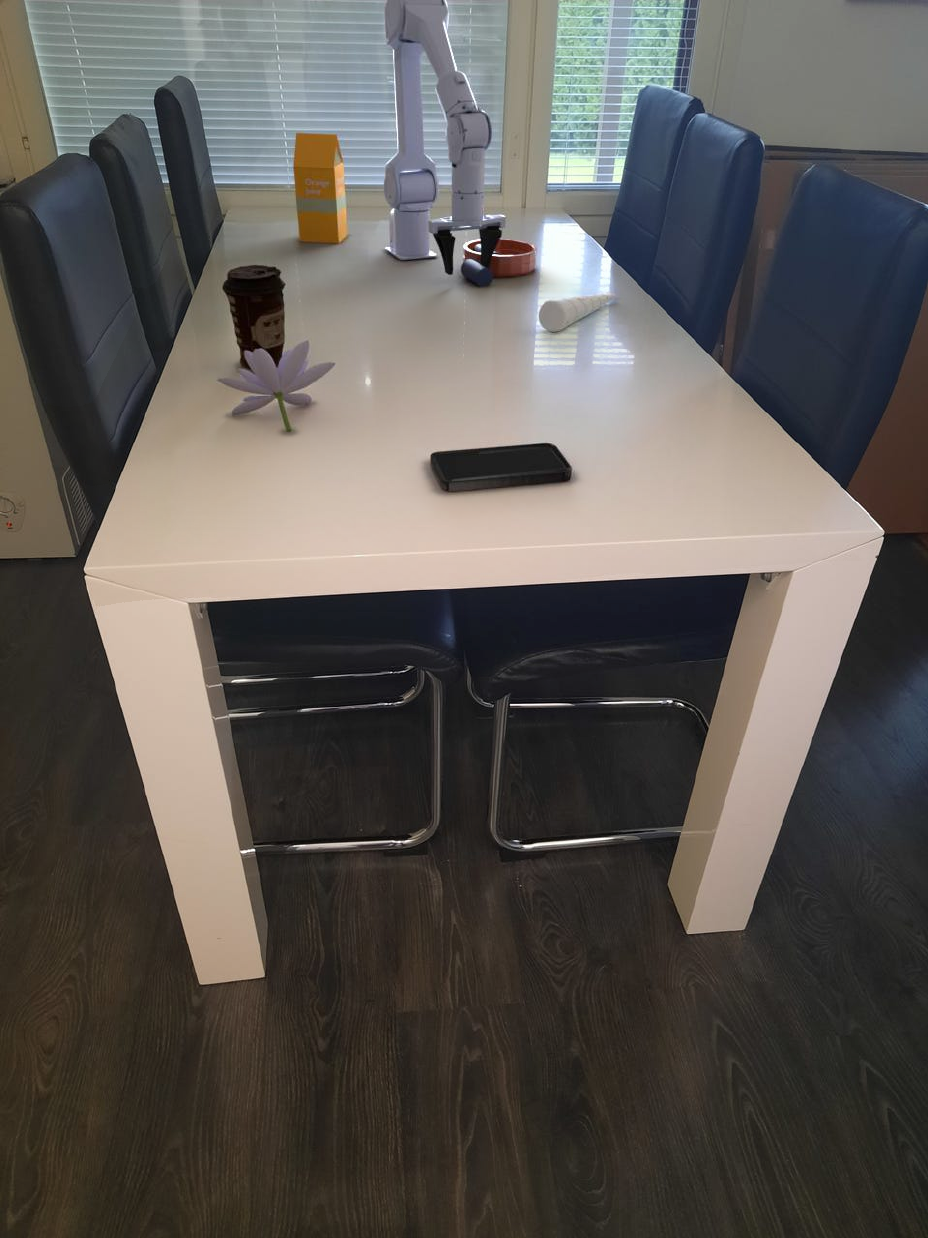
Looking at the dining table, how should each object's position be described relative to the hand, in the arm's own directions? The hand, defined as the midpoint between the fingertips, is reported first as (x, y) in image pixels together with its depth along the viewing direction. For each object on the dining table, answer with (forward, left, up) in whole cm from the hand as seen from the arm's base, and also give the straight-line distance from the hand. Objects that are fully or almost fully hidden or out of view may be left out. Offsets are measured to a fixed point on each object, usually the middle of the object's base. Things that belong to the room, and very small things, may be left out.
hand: (466, 271), depth 159 cm
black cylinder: (-7, +8, -1) cm, 11 cm away
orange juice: (-43, -15, -2) cm, 45 cm away
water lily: (+49, -47, -2) cm, 68 cm away
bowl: (-7, +10, -2) cm, 13 cm away
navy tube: (0, 0, 0) cm, 1 cm away
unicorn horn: (+25, +10, -2) cm, 27 cm away
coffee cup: (+30, -45, -2) cm, 54 cm away
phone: (+73, -28, -2) cm, 79 cm away
